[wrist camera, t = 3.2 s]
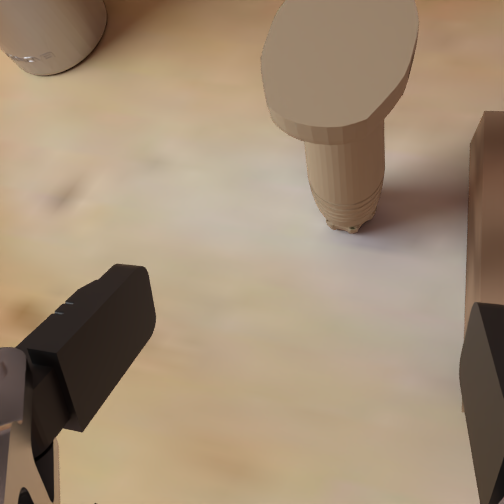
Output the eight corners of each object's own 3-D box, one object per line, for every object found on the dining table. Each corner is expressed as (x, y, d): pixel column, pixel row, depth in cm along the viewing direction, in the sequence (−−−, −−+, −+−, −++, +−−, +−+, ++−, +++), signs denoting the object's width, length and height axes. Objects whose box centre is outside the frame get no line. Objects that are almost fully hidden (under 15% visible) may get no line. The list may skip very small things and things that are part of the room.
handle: (297, 249, 29) (239, 114, 15) (324, 160, 30) (294, -41, 16) (374, 268, 27) (389, 138, 13) (398, 173, 29) (435, -34, 15)
